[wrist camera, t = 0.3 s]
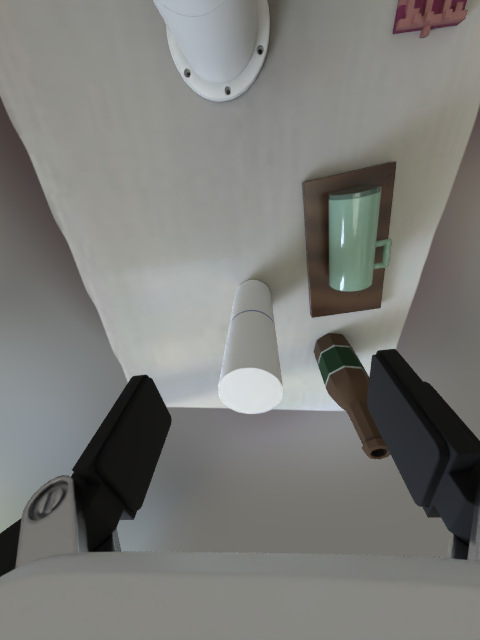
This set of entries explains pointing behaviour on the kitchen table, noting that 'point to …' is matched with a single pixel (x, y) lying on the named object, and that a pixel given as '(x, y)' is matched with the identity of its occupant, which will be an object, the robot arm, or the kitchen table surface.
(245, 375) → the cylindrical container
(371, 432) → the beer bottle
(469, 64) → the kitchen table surface
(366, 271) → the jug
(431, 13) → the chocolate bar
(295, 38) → the kitchen table surface
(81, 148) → the kitchen table surface
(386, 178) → the serving board
